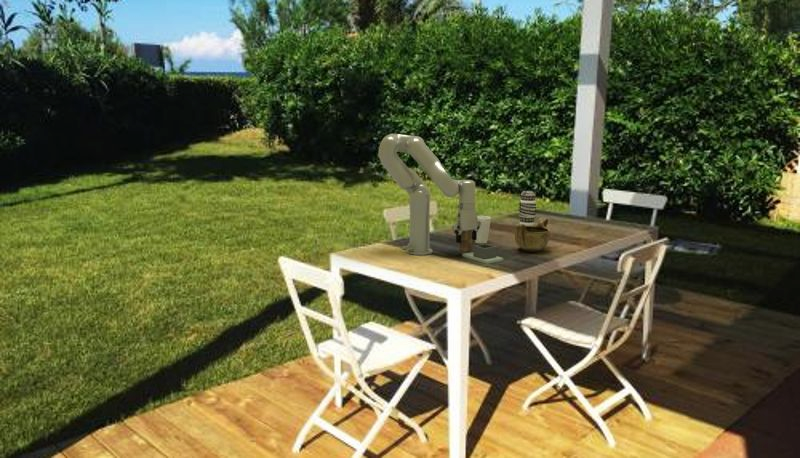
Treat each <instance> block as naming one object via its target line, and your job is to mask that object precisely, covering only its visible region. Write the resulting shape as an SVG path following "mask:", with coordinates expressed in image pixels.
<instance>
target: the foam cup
mask: <svg viewBox="0 0 800 458" xmlns="http://www.w3.org/2000/svg"><path fill="white" fill-rule="evenodd" d="M477 219H478V221H479V222H481V225H480V228H479V229H478V232H477V240H476V241H475V240H474V243H476V244H488V240H489V239H488V238H489V233H490V228H491V227H490V226H491V223H492V221H491V219H492V217H491V216H488V215H477Z"/></svg>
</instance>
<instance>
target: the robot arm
mask: <svg viewBox="0 0 800 458" xmlns="http://www.w3.org/2000/svg"><path fill="white" fill-rule="evenodd" d="M398 152H399V153H407V154H409V155H410V156H411V157H412V159H414V161H415V162H417V164H418V165H419V166H420V168H422V170H423V171H424V172H425V174H426V175H427V176H428V178H429V179H431V181H432V182H433V183H434V184H435V186H436V187H437V188H438V189H439V190H440V192H441V193H442V194H443V195H444V196H445V197H447V198H454V197H456V196H457V195H458V205H457V208H458V210H457V212H456V213H457V214H456V222H455V223H454V224H453V225H451V229H452V232H453V233H454V234H455V242H456V243H458V244H460V243H461V235H460V234H461V232H462V231H468V230H472V241H474V242H475V241H476V240H477V232H478V229H479V228H480V225H481V222H479V221H478V219H477V216H478V210H477V208H476V207H475V206H476V182H475V181H474V180H472V179H462V180H459V179H454V178H453V179H452V177H451V176H450V175H449V173H447V171H446V170H445V169H444V167H443V165H442V163H441V161H440V160H439V158H438V157H437V156H436V155H435V154H434V153H433V151H432V150H431V149H430V148H429V146H427V145H426V143H425V141H424V139H423V138H422V137H421V136H418V135H410V134H409V135H408V134H398V133H390V134H386V135H385V136H384V137H383V138H382V140H381V142H380V145H379V147H378V158H379V160H380V163H381V164H382V166H383V167H384V168H385V170H386V171H387V173H388V174H389V175H390V177H392V179H393V180H394V181H395V183H396V184H397V186H398V187H399V188H400V189H402V190H404V191H405V192H406V193H407V194H408V195H409V200H408V201H409V242H408V243H407V245H403V246H401V251H406V253H407V254H409V255H414V256H426V255H430V254H433V248H430V229H431V227H430V223H431V222H430V220H431V219H430V216H431V215H430V211H431V210H430V209H431V208H430V206H431V205H430V204H431V196H432V195H431V191H430V189H429V187H428V186H427V185H426V183H425V182H424V180H423V179H421V177H420V176H419V175H418V173H417V172H416V171H415V170H414V169H412V168H409V167H408V166H407V165H406V164H405V162H404V161H403V160H402V159H401V158H400V157H399V155H398Z"/></svg>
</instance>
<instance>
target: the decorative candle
mask: <svg viewBox="0 0 800 458" xmlns="http://www.w3.org/2000/svg"><path fill="white" fill-rule="evenodd" d="M536 196H537V194H536V193H535V192H534V191H532V190H523V191H522V192H521V193H520V202H519V203H518V205H519V207H518V211H519V214H518V215H519V223H520V224H524V225H525V226H536V225H535V222H536V221H535V217H536V215H537V213H536V212H537V210H536V209H537V203H536V202H537V201H536Z"/></svg>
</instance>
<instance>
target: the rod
mask: <svg viewBox="0 0 800 458" xmlns="http://www.w3.org/2000/svg"><path fill="white" fill-rule="evenodd" d="M460 235H461V243H459V254H461V255H463V254H465V253H470V252H473V251H472V250H473V249H472V248H473V245H472V244H473V240H472V230H468V231H462V232H461V234H460Z"/></svg>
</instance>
